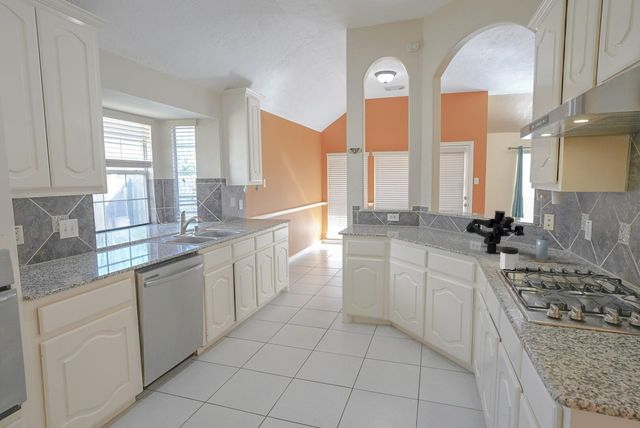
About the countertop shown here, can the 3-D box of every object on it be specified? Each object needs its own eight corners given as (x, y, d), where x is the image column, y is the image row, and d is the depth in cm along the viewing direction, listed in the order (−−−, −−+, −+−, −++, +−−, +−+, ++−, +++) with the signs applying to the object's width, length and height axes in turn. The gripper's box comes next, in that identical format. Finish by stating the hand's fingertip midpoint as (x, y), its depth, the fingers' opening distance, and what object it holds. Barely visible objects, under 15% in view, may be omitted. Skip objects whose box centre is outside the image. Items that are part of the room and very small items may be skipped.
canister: (533, 260, 210) (534, 234, 209) (543, 260, 211) (544, 234, 209) (539, 263, 204) (541, 236, 203) (550, 262, 204) (551, 236, 203)
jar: (512, 272, 189) (513, 250, 188) (497, 269, 196) (498, 248, 195) (520, 269, 194) (521, 248, 193) (506, 266, 201) (506, 246, 199)
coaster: (525, 260, 213) (525, 259, 213) (544, 260, 214) (544, 259, 214) (538, 265, 201) (538, 264, 201) (558, 265, 202) (558, 264, 202)
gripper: (488, 216, 223) (503, 222, 208) (516, 215, 225) (533, 221, 210) (486, 232, 225) (501, 240, 210) (514, 231, 227) (530, 239, 212)
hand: (516, 234), depth 210 cm, fingers open, 9 cm apart
